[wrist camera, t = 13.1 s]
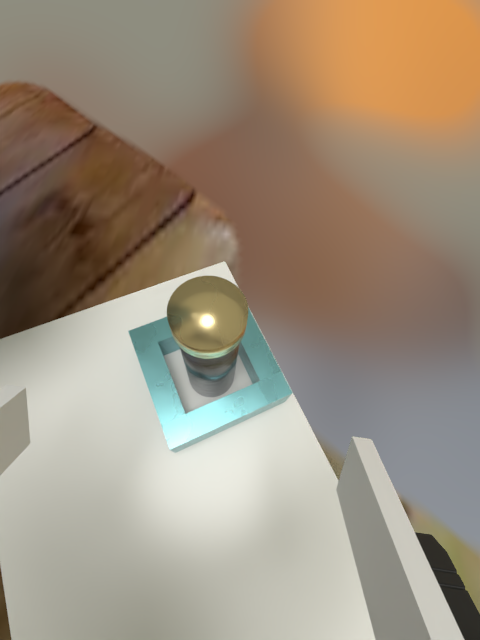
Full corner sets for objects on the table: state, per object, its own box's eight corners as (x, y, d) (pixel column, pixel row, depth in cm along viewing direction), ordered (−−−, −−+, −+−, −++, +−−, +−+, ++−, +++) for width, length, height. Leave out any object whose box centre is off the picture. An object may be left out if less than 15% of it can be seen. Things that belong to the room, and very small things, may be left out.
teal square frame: (136, 345, 28) (128, 330, 25) (237, 307, 30) (239, 289, 27) (175, 453, 25) (169, 449, 22) (285, 401, 27) (292, 393, 24)
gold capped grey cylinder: (178, 362, 28) (155, 291, 17) (224, 343, 28) (228, 265, 18) (197, 408, 26) (184, 361, 16) (245, 387, 27) (262, 329, 17)
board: (-24, 354, 28) (-32, 350, 27) (224, 267, 33) (224, 261, 32) (68, 939, 16) (60, 966, 15) (431, 670, 21) (440, 679, 20)
